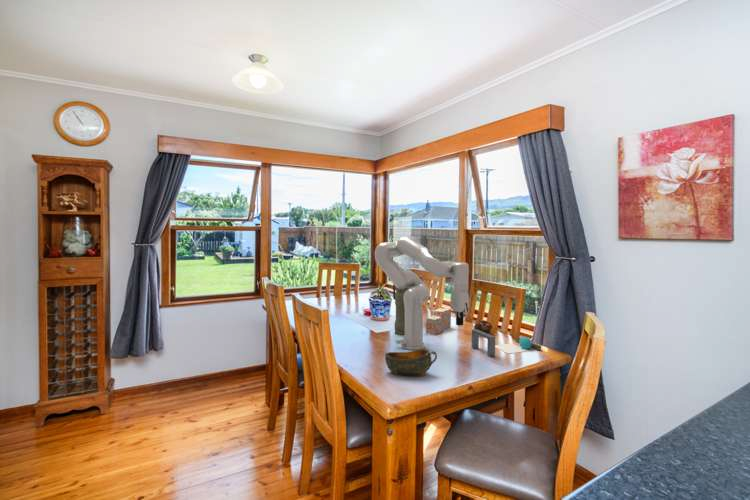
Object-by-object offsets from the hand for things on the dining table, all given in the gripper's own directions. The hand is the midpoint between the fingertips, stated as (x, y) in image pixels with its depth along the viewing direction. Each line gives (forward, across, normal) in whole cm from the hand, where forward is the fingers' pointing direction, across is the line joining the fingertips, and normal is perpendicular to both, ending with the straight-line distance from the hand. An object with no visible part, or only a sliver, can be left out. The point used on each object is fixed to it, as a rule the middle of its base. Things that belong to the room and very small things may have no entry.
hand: (459, 324), depth 181 cm
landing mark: (+15, 0, +31) cm, 34 cm away
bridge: (+15, 0, +14) cm, 21 cm away
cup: (+15, +13, -33) cm, 39 cm away
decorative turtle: (+15, -28, +35) cm, 47 cm away
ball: (+12, +3, +38) cm, 40 cm away
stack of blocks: (+15, -44, +14) cm, 48 cm away
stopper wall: (+15, 0, +43) cm, 46 cm away
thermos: (+15, -45, -10) cm, 49 cm away
